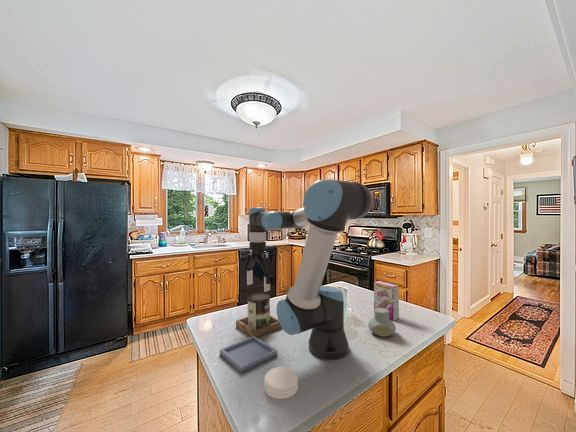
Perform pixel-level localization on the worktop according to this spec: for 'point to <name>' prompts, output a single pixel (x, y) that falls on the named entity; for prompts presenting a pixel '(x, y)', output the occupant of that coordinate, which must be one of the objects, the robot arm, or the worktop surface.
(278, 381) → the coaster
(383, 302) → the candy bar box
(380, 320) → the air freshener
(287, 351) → the worktop surface
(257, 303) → the coffee can
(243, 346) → the tray
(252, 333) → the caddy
